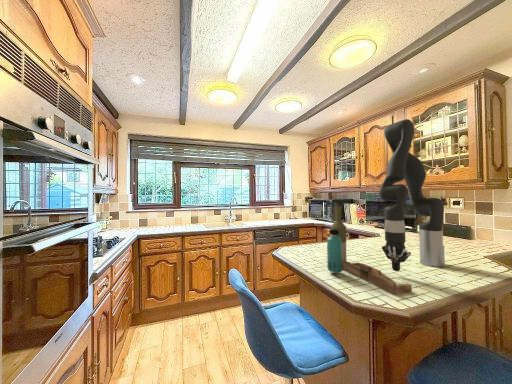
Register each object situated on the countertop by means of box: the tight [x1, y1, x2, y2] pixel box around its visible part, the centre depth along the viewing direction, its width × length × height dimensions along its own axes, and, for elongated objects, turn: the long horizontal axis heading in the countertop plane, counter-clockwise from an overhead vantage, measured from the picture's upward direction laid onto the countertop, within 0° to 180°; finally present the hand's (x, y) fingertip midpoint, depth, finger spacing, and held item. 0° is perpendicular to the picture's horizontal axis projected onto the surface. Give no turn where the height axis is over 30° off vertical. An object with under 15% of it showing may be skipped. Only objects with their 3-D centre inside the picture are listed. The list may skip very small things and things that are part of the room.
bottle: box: [330, 205, 347, 269], centre depth 108 cm, size 7×7×30 cm
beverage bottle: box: [326, 228, 343, 274], centre depth 98 cm, size 6×7×20 cm
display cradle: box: [342, 260, 413, 296], centre depth 91 cm, size 8×28×6 cm, turn 14°
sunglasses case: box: [355, 262, 395, 282], centre depth 94 cm, size 18×7×7 cm
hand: (396, 270), depth 94 cm, fingers closed
